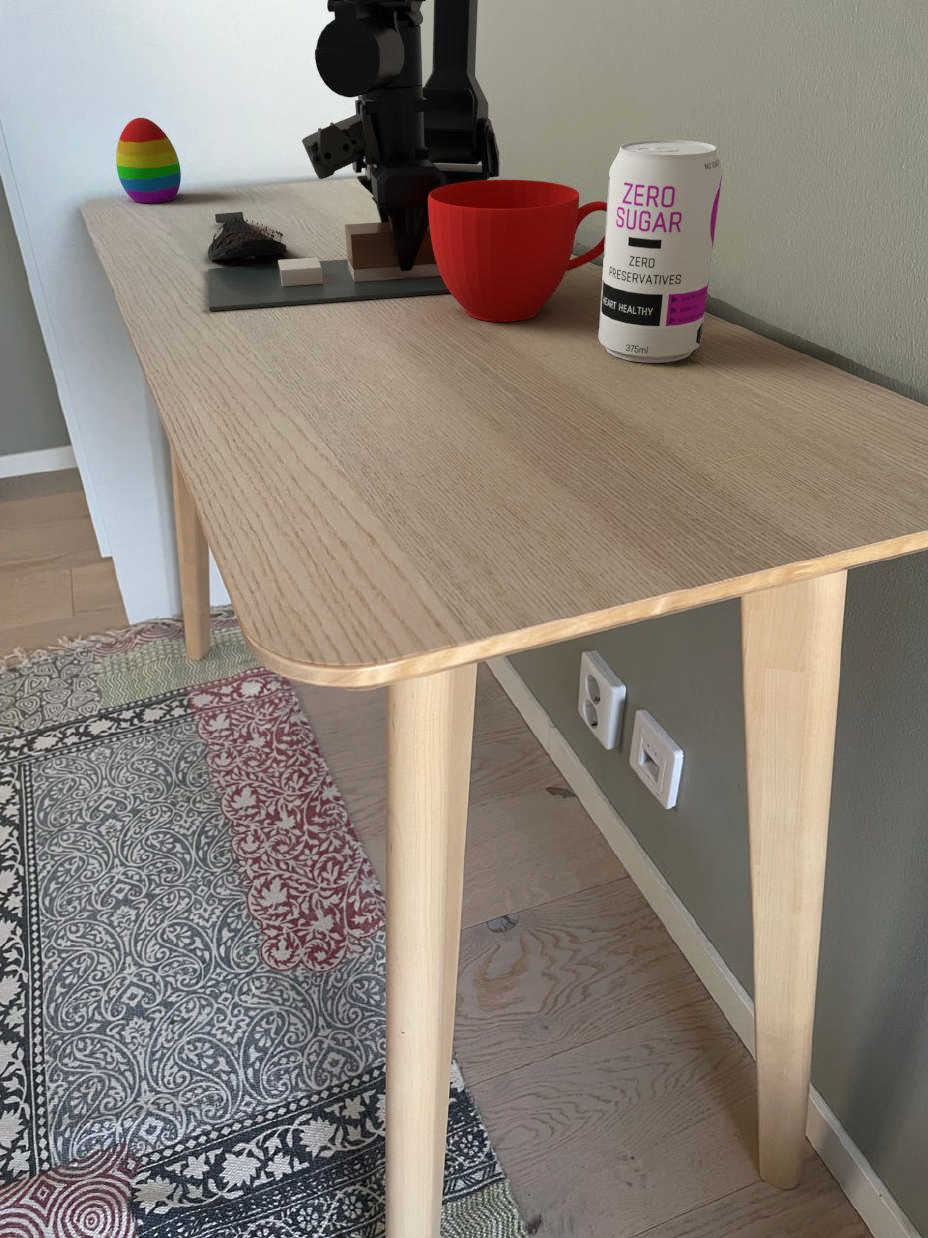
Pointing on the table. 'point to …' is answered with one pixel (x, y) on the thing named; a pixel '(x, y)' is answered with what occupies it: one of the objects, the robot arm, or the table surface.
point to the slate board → (306, 287)
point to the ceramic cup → (506, 243)
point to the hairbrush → (242, 239)
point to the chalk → (300, 272)
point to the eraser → (384, 254)
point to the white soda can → (658, 248)
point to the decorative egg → (147, 163)
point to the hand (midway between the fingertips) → (399, 261)
